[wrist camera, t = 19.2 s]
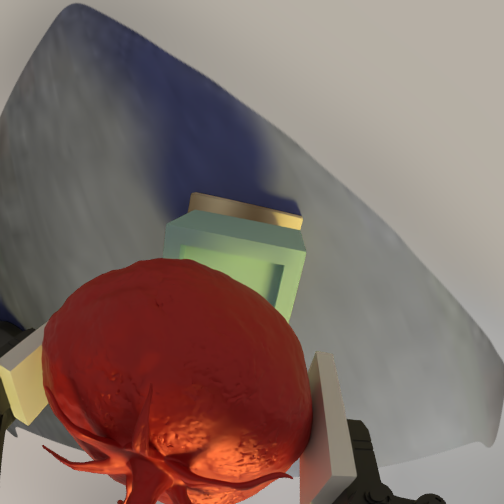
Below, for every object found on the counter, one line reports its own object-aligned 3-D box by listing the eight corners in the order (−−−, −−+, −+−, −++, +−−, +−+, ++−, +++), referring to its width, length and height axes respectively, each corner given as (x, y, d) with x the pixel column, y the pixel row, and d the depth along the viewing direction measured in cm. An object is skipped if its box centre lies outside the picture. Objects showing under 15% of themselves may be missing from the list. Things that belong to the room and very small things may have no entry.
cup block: (182, 304, 26) (156, 342, 20) (194, 209, 23) (166, 224, 17) (277, 324, 25) (275, 369, 19) (300, 230, 23) (306, 252, 17)
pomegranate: (211, 188, 12) (41, 232, 3) (350, 370, 13) (399, 551, 4) (69, 316, 14) (-56, 418, 5) (194, 445, 15) (151, 580, 6)
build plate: (179, 289, 31) (160, 313, 26) (195, 192, 29) (176, 197, 23) (276, 313, 31) (274, 342, 26) (301, 216, 28) (306, 227, 23)
